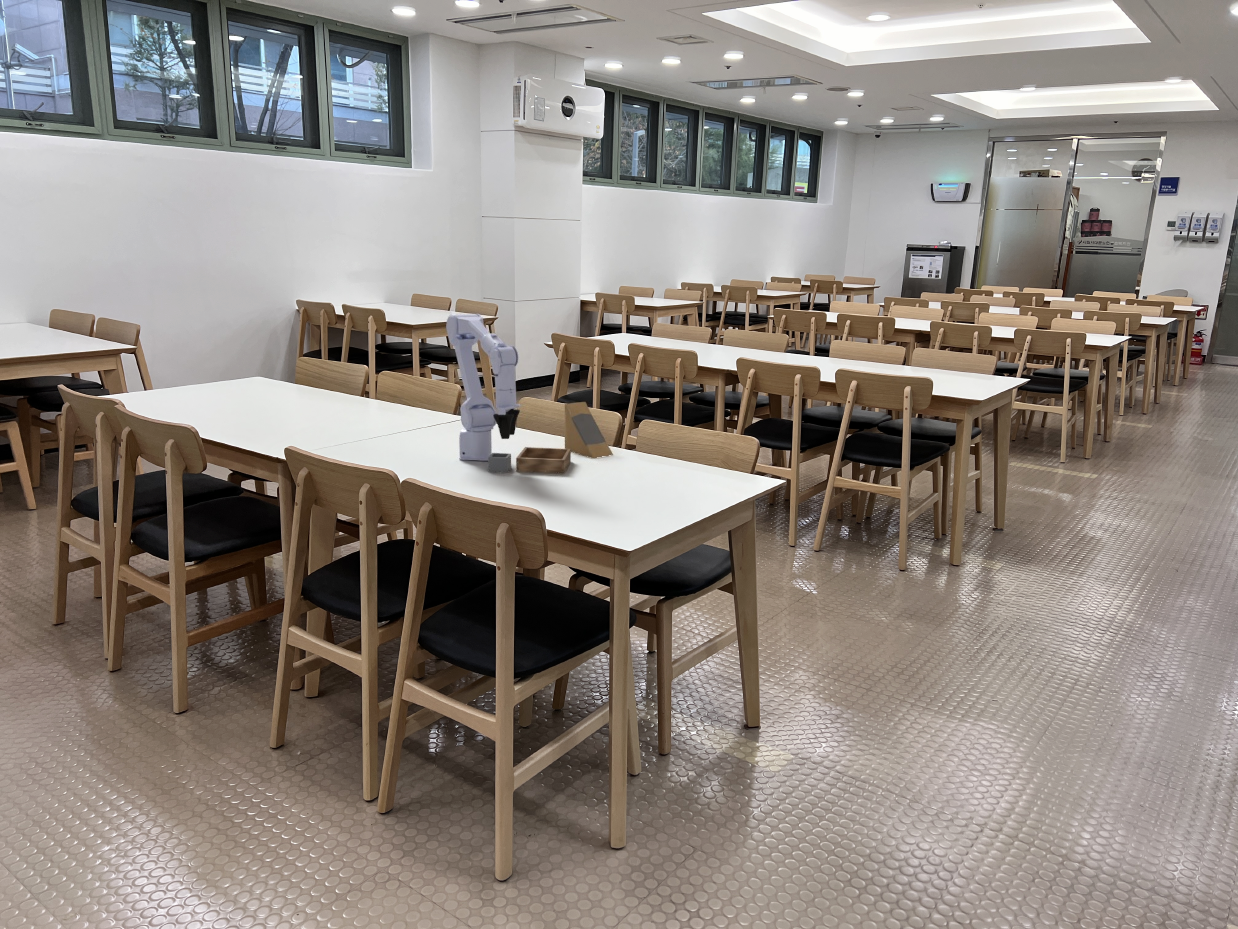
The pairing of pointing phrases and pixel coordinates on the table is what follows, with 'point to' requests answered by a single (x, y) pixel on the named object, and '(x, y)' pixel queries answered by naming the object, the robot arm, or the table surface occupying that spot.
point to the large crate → (543, 460)
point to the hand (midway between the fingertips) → (508, 436)
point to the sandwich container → (583, 432)
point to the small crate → (499, 462)
